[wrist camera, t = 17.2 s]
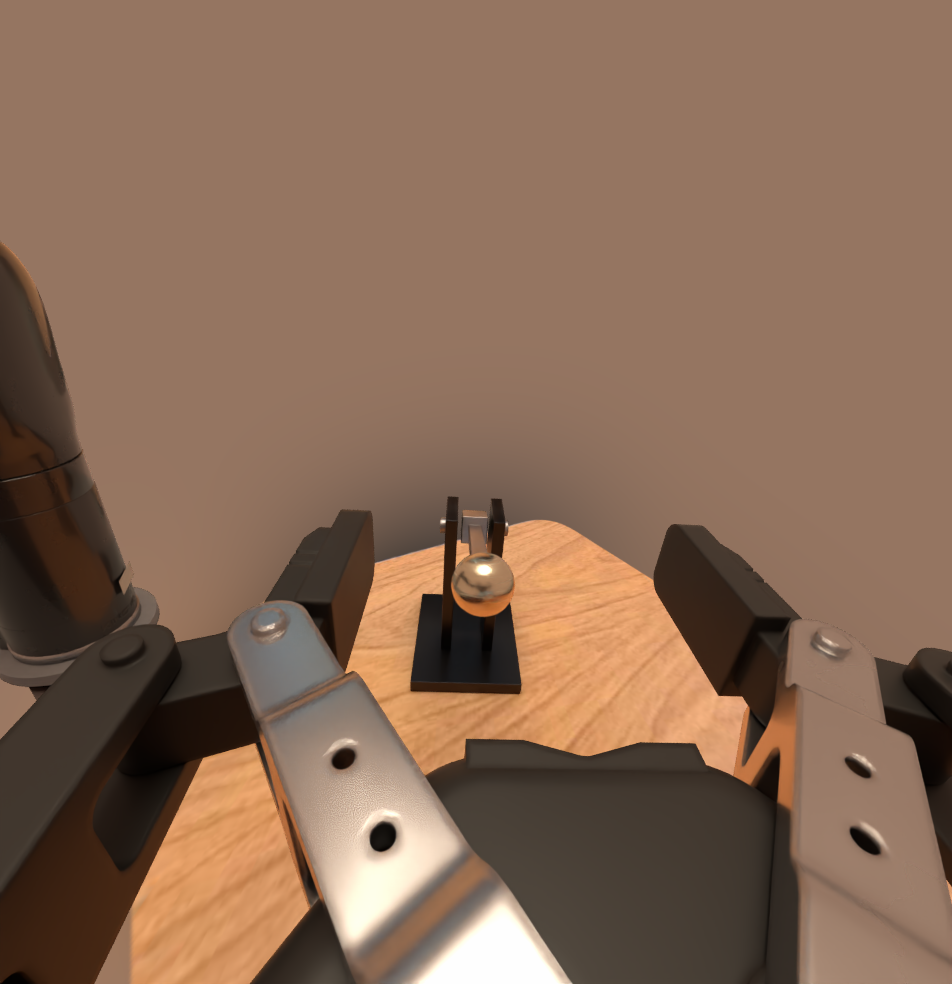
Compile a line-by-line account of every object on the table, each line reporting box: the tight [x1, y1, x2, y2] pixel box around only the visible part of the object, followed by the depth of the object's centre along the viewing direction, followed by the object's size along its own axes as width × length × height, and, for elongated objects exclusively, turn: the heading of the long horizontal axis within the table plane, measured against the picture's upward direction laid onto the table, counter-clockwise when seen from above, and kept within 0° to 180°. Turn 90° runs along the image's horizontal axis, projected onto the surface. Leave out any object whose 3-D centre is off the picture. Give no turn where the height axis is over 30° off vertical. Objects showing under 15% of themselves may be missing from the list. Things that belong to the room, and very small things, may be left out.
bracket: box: [411, 497, 521, 694], centre depth 41 cm, size 12×10×16 cm
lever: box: [451, 510, 515, 617], centre depth 31 cm, size 17×4×4 cm, turn 1°
